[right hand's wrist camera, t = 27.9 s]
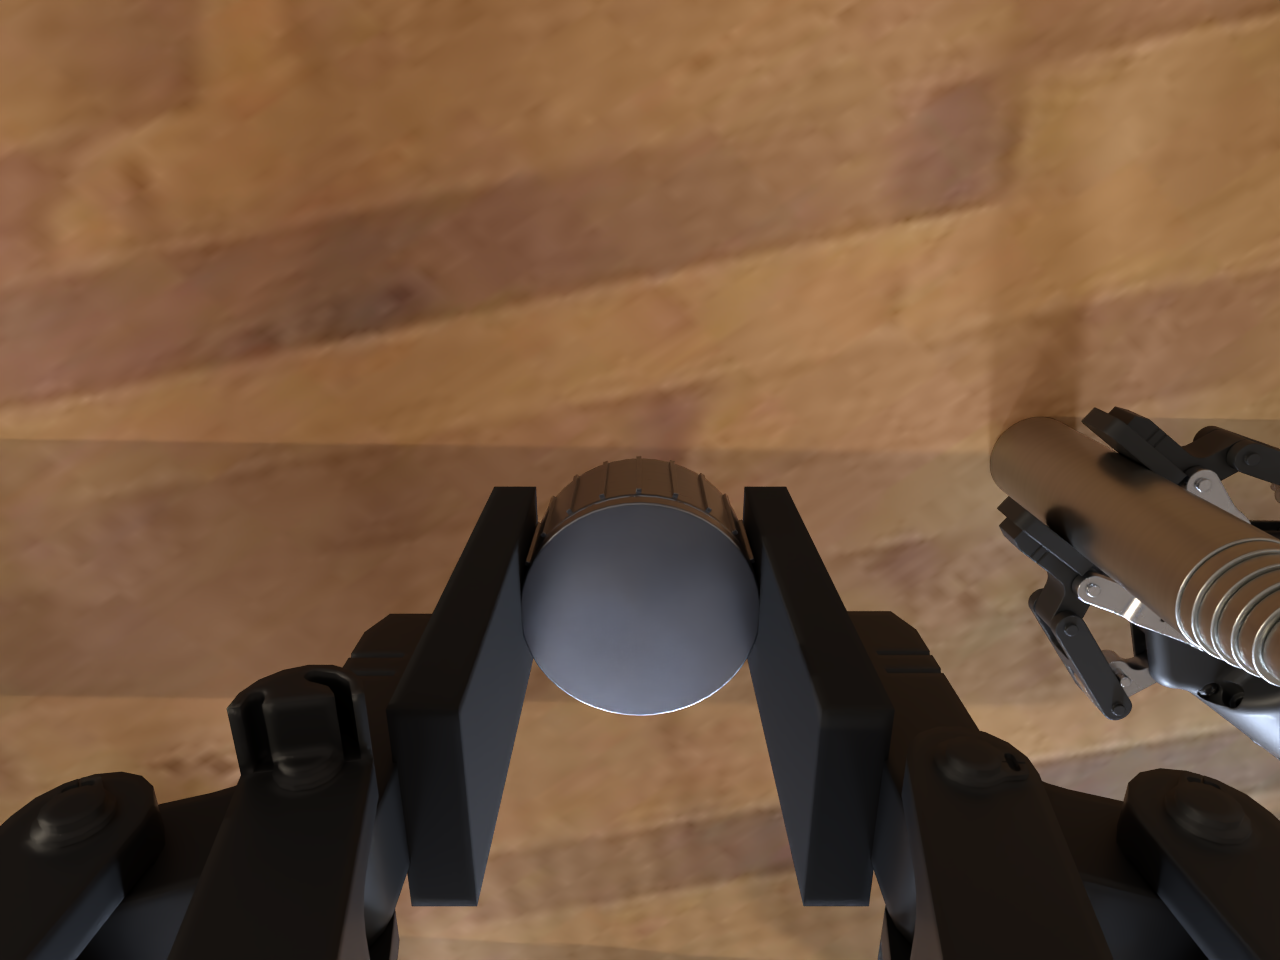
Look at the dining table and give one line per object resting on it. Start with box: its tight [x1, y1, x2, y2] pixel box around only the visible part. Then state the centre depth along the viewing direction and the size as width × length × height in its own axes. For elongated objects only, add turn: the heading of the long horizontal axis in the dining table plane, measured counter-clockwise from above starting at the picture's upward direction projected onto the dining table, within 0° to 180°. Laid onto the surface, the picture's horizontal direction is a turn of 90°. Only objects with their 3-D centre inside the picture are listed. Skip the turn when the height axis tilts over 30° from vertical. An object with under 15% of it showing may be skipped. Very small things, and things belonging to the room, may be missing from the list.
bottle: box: [990, 417, 1280, 686], centre depth 28 cm, size 4×4×20 cm
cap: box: [521, 456, 760, 715], centre depth 14 cm, size 4×4×2 cm
